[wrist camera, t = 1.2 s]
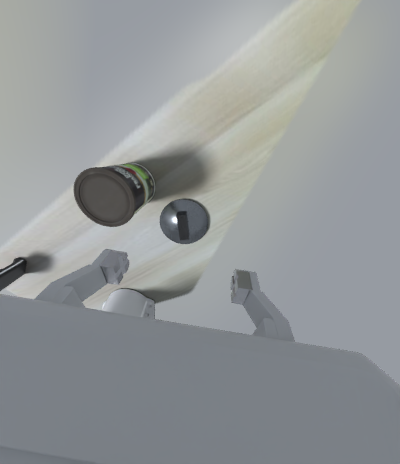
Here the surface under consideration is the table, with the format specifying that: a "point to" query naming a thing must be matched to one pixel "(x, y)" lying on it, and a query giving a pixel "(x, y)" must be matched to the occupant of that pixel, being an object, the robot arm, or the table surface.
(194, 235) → the lid
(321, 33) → the table surface
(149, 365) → the robot arm
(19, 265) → the battery charger
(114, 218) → the coffee can
